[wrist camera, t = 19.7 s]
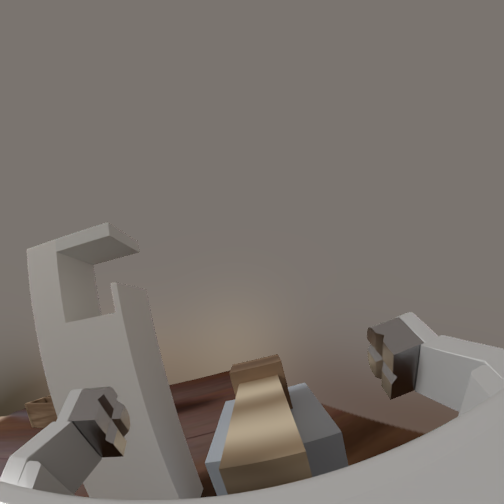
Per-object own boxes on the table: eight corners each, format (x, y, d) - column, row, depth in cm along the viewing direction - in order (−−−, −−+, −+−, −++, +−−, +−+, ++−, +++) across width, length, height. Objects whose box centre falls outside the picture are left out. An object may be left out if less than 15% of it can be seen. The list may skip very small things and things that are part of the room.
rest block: (365, 573, 13) (341, 431, 15) (263, 596, 12) (204, 463, 15) (331, 496, 26) (304, 382, 29) (261, 513, 26) (225, 401, 29)
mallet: (333, 507, 8) (314, 422, 9) (228, 529, 8) (196, 447, 9) (287, 395, 26) (277, 354, 27) (243, 405, 26) (232, 364, 27)
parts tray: (78, 428, 69) (70, 402, 71) (32, 427, 69) (24, 403, 70) (112, 407, 93) (105, 386, 95) (69, 410, 93) (63, 390, 94)
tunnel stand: (191, 525, 25) (107, 222, 31) (103, 522, 24) (26, 249, 31) (203, 488, 34) (137, 241, 41) (127, 491, 34) (65, 262, 40)
